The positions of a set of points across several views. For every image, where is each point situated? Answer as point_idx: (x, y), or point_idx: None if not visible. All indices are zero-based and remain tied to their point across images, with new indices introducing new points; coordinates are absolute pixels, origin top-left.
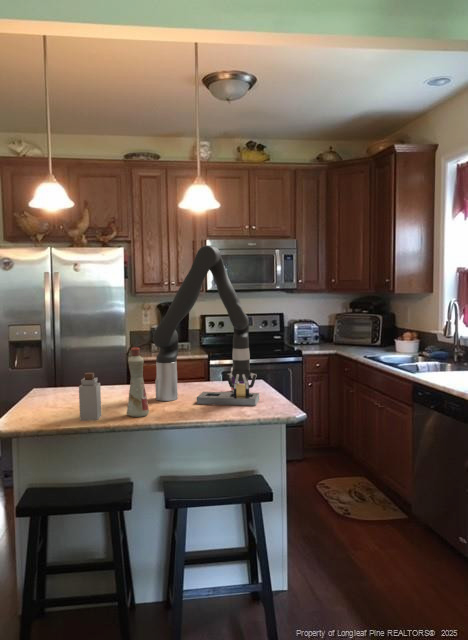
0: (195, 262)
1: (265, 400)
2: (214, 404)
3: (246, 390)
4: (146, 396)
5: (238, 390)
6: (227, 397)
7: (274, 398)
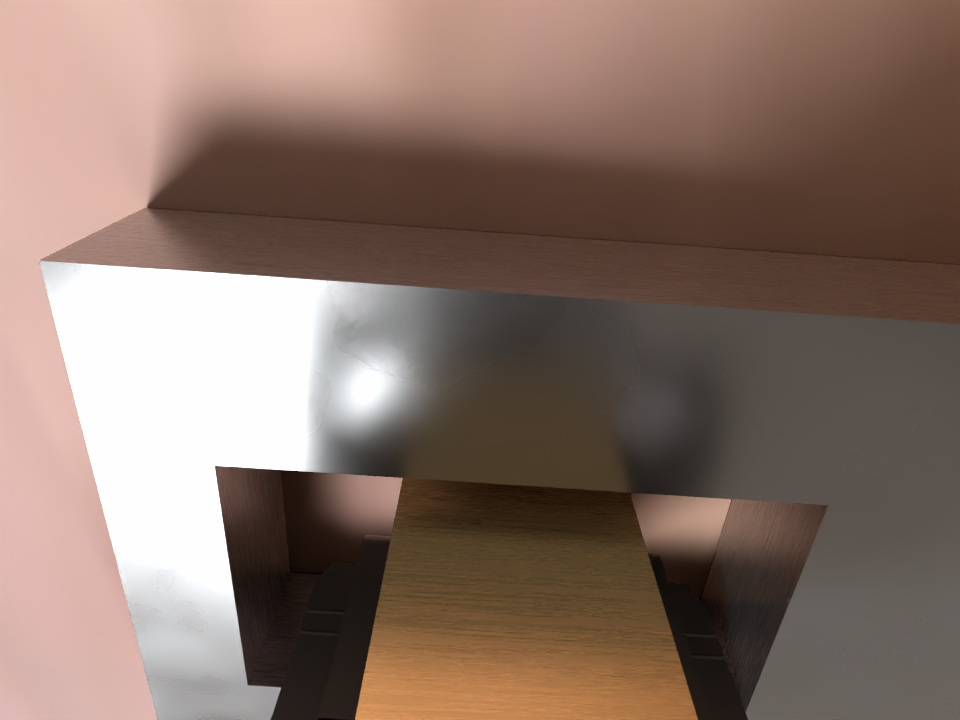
0: None
1: (100, 614)
2: None
3: (347, 677)
4: None
5: (605, 653)
6: (901, 401)
7: (7, 716)
